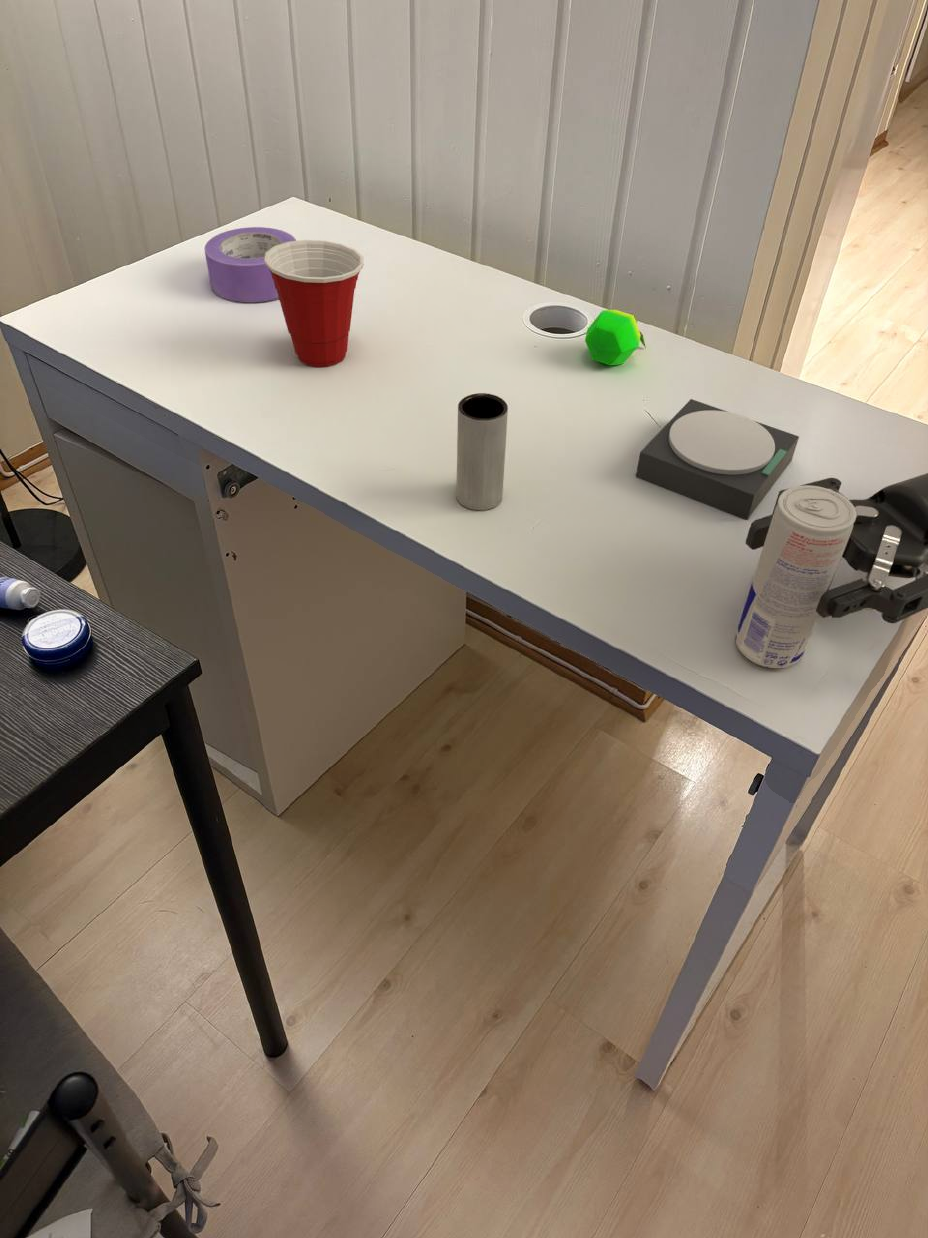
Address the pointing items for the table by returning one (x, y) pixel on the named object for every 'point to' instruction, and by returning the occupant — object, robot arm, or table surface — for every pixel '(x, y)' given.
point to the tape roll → (243, 263)
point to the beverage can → (794, 574)
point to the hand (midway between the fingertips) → (784, 571)
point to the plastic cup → (316, 296)
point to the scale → (717, 458)
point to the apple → (613, 337)
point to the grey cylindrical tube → (481, 450)
